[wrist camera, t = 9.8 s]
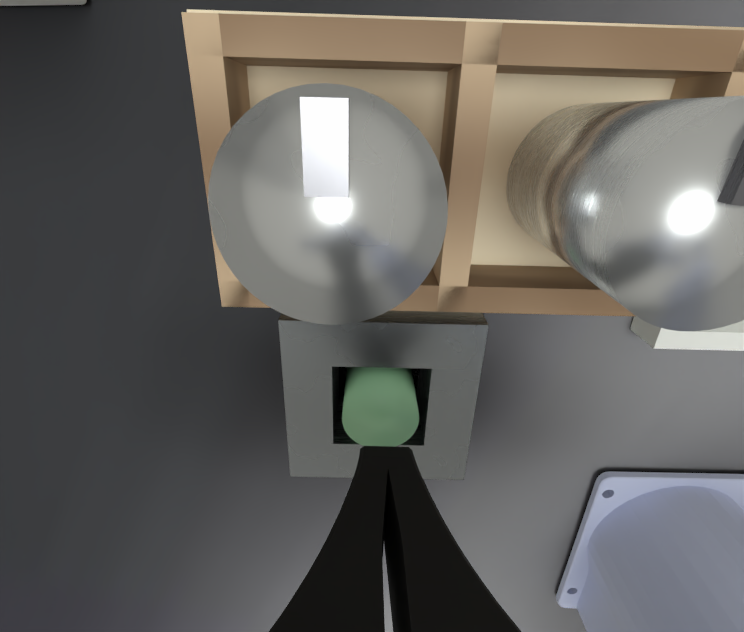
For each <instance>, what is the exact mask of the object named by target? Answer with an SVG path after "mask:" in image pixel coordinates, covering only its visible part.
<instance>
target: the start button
mask: <svg viewBox="0 0 744 632" xmlns="http://www.w3.org/2000/svg"><path fill="white" fill-rule="evenodd" d="M418 423H419V412H418V406H417V400H416V393H415V387H414V380H413V374H412V368H378V367H347V371H346V381H345V391H344V401H343V412H342V424H343V427H344V430H345V431H346V433H347V434H348V436H349V437H350V438H351V439H352V440H354V441H355V442H356V443H358V444H360V445H362V446H394V447H396V446H398V445H400V444H402V443H404V442H406V441H407V440H408V439H409V438H410V437H411V436H412V435H413V434H414V433H415V431H416V429H417V427H418Z"/></svg>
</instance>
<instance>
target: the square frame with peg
mask: <svg viewBox="0 0 744 632" xmlns="http://www.w3.org/2000/svg"><path fill="white" fill-rule="evenodd" d="M278 323H279V336H280V349H281V362H282V375H283V388H284V401H285V414H286V428H287V441H288V454H289V467H290V477H338V478H353V477H354V474H355V471H356V467H357V464H358V459H359V454H360V449H361V448H362V447H363V446H362V445H360V444H358V443H356V442H355V441H354V440H352V439H351V438H350V437H349V436H348V434H347V433H346V431H345V430H344V427H343V424H342V412H343V401H344V396H339V367H378V368H419V373H418V385H417V396H416V400H417V406H418V412H419V423H418V427H417V429H416V431H415V433H414V434H413V435H412V436H411V437H410V438H409V439H408V440H407V441H406V442H404V443H402V444H400V445H398V446H396V447H409V448H410V449H412V451H413V454H414V457H415V460H416V463H417V466H418V468H419V471H420V473H421V476H422V478H423V479H443V480H464V475H465V469H466V463H467V456H468V450H469V444H470V438H471V432H472V426H473V419H474V413H475V407H476V401H477V395H478V389H479V382H480V376H481V370H482V364H483V358H484V352H485V345H486V339H487V333H488V327H489V325H488V323H487V321H486V319H485V318H484V316H483V314H482V313H473V312H431V311H387V312H386V313H384V314H381V315H379V316H376V317H374V318H372V319H368V320H365V321H361V322H357V323H351V324H343V325H325V324H315V323H310V322H305V321H301V320H298V319H295V318H292V317H289V316H287V315H284V314H282V313H281V316H280V318H279V320H278Z"/></svg>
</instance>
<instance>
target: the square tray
mask: <svg viewBox="0 0 744 632" xmlns="http://www.w3.org/2000/svg"><path fill="white" fill-rule="evenodd" d="M630 329H631V330H632V331H633V332H634V333H636V334H637V335H638V336H639V337H640V338H642V339H643V340H644V341H645V342H646V343H648V344H649V345H650V346H651V347H652V348H654V349H692V350H735V351H744V320H743V321H740V322H738V323H735V324H731V325H728V326H725V327H721V328H716V329H711V330H704V331H675V330H668V329H664V328H660V327H657V326H654V325H652V324H649V323H647V322H645V321H643V320H641V319H640V318H638V317H637V316H634V318H633V321H632V324H631V328H630Z"/></svg>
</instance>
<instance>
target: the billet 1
mask: <svg viewBox="0 0 744 632" xmlns="http://www.w3.org/2000/svg"><path fill="white" fill-rule="evenodd" d="M208 206H209V217H210V222H211V227H212V232H213V235H214V237H215V240H216V243H217V246H218V248H219V250H220V252H221V254H222V257H223V259H224V260H225V262H226V264H227V265H228V267H229V268H230V270H231V271H232V273H233V274H234V275H235V277H236V278H237V279H238V280H239V281H240V283H241V284H242V285H243V286H244V287H245V288H246V289H247V290H248V291H249V292H250V293H251V294H252V295H254V296H255V297H256V298H258V299H259V300H260V301H262V302H263V303H264V304H266V305H267V306H269V307H271V308H272V309H274V310H276V311H278V312H280V313H282V314H284V315H287V316H289V317H292V318H295V319H298V320H301V321H305V322H310V323H315V324H325V325H343V324H351V323H357V322H361V321H365V320H368V319H372V318H374V317H376V316H379V315H381V314H384V313H386V312H387V311H389V310H391V309H393V308H394V307H396V306H398V305H399V304H400V303H402V302H403V301H404V300H406V299H407V298H408V297H409V296H410V295H411V294H412V293H413V292H414V291H415V290H416V289H417V288H418V287H419V286H420V285H421V284H422V282H423V281H424V280H425V279H426V277H427V276H428V274H429V273H430V271H431V269H432V268H433V266H434V264H435V262H436V260H437V258H438V255H439V253H440V251H441V248H442V244H443V241H444V238H445V233H446V227H447V217H448V202H447V191H446V186H445V182H444V177H443V173H442V171H441V168H440V165H439V163H438V160H437V157H436V156H435V154H434V152H433V150H432V148H431V146H430V144H429V143H428V141H427V140H426V138H425V137H424V136H423V134H422V133H421V131H420V130H419V129H418V128H417V127H416V126H415V125H414V123H413V122H412V121H411V120H410V119H409V118H408V117H407V116H406V115H404V114H403V113H402V112H401V111H399V110H398V109H397V108H396V107H394V106H393V105H392V104H390V103H388V102H387V101H385V100H383V99H381V98H380V97H378V96H376V95H374V94H371V93H369V92H366V91H364V90H361V89H358V88H354V87H350V86H346V85H340V84H330V83H317V84H305V85H300V86H295V87H291V88H288V89H285V90H282V91H280V92H277V93H274V94H273V95H271V96H269V97H267V98H265V99H264V100H262V101H260V102H259V103H257V104H256V105H255V106H253V107H252V108H251V109H249V110H248V111H247V112H246V113H245V114H244V115H243V116H242V117H241V118H240V119H239V120H238V121H237V122H236V123H235V124H234V126H233V127H232V128H231V130H230V131H229V133H228V134H227V135H226V137H225V138H224V140H223V142H222V144H221V146H220V148H219V150H218V152H217V155H216V158H215V161H214V164H213V166H212V170H211V176H210V181H209V191H208Z"/></svg>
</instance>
